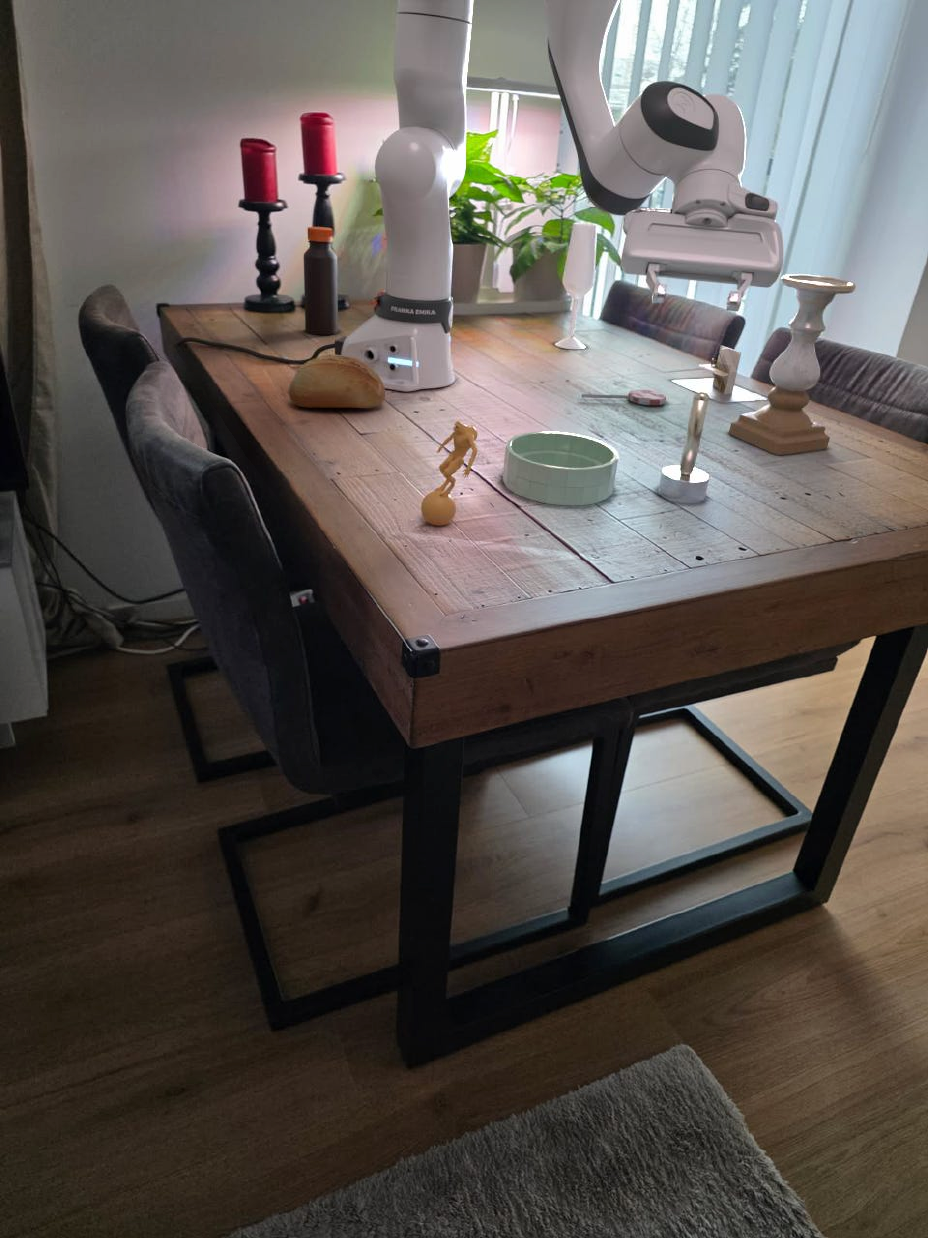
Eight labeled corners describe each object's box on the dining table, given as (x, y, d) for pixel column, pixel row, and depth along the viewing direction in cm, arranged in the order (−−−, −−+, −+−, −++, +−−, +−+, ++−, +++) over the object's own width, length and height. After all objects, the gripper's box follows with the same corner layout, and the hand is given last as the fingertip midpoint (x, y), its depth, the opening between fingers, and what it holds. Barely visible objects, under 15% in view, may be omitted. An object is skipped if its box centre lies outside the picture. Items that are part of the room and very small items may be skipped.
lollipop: (577, 387, 150) (658, 389, 152) (576, 393, 150) (657, 395, 153) (587, 398, 144) (671, 400, 146) (586, 404, 145) (670, 406, 147)
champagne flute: (590, 345, 185) (607, 224, 173) (577, 350, 180) (593, 226, 168) (563, 340, 188) (577, 221, 176) (549, 345, 183) (563, 222, 171)
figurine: (409, 511, 100) (413, 411, 94) (456, 507, 103) (463, 408, 97) (434, 541, 94) (440, 435, 88) (484, 535, 96) (493, 431, 90)
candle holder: (777, 455, 128) (821, 287, 116) (726, 433, 136) (763, 273, 124) (828, 448, 132) (876, 286, 121) (776, 427, 141) (816, 273, 129)
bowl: (496, 500, 105) (500, 461, 103) (508, 462, 118) (512, 426, 115) (611, 513, 104) (618, 475, 102) (612, 473, 116) (617, 438, 114)
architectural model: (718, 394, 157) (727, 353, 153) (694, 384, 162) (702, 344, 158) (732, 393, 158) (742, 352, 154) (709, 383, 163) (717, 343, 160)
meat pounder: (658, 501, 109) (679, 395, 102) (656, 484, 114) (676, 382, 107) (706, 506, 108) (730, 400, 101) (702, 489, 113) (724, 387, 106)
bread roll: (386, 418, 131) (387, 365, 127) (287, 415, 129) (285, 362, 125) (383, 400, 139) (384, 350, 135) (290, 397, 137) (288, 346, 133)
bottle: (335, 336, 177) (334, 231, 167) (302, 334, 177) (299, 228, 167) (340, 329, 183) (339, 227, 173) (308, 327, 183) (305, 225, 172)
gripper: (628, 188, 110) (616, 280, 106) (790, 202, 108) (784, 296, 104) (622, 223, 116) (611, 310, 112) (776, 237, 114) (769, 327, 110)
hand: (695, 304), depth 108 cm, fingers open, 8 cm apart
